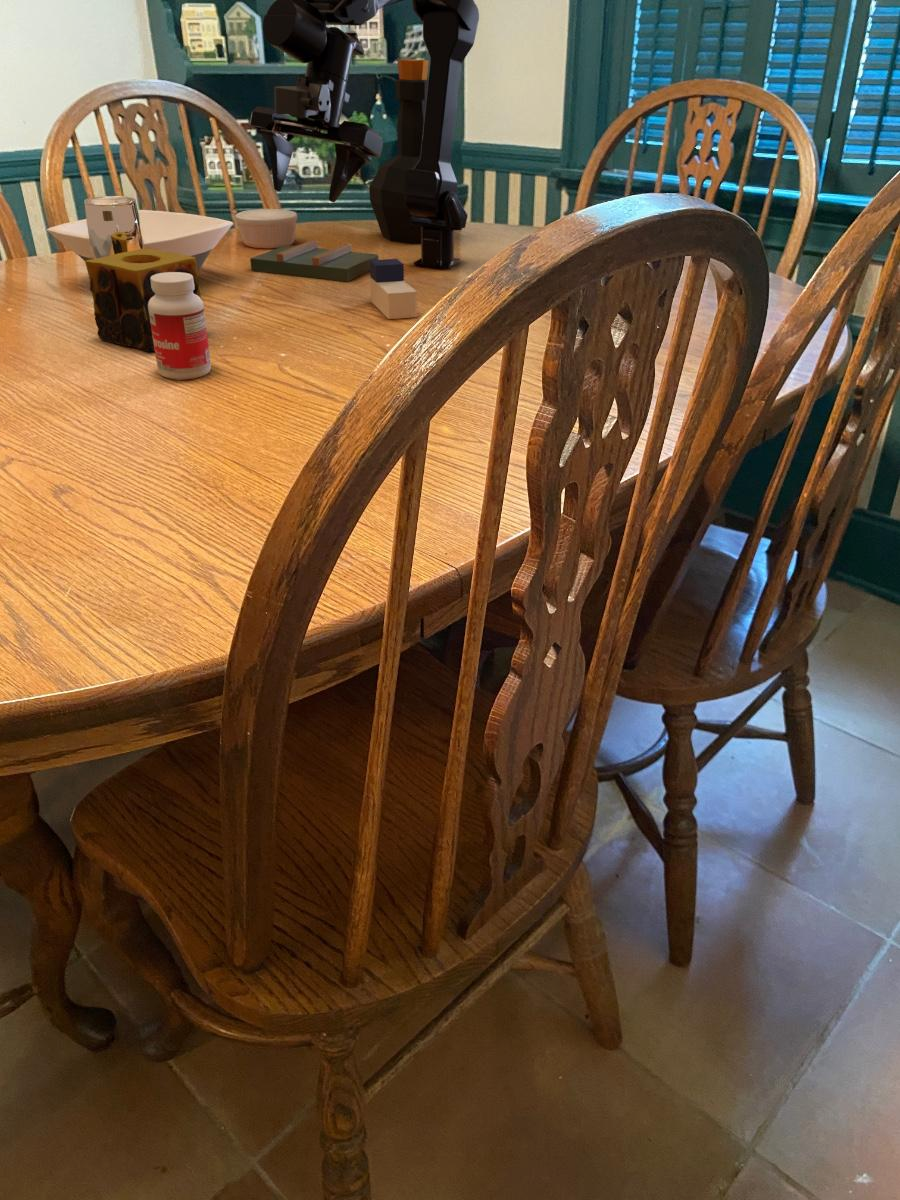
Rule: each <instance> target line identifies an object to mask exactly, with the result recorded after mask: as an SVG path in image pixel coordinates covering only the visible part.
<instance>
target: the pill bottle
mask: <svg viewBox="0 0 900 1200" xmlns="http://www.w3.org/2000/svg"><path fill="white" fill-rule="evenodd" d="M150 280H151V288H152V290H153V292H155V295H154V296H153V297H152V298H151V299H150V300H149V303H148V310H149V317H150V323H151V330H152V337H153V343H154V349H155V351H154V354H155V355H154V356H155V361H156V366H157V371H158V373H159V374H160V375H161V376H162V377H164V378H167V379H170V380H177V381H179V380H181V381H183V380H184V381H185V380H194V379H197V378H200V377H204V376H206V375H207V374H209V373H210V372H211V369H212V363H211V362H212V361H211V354H210V348H209V340H208V339H209V338H208V331H207V321H206V315H205V305H204V302H203V299H202V297H201V298H200V297H199V296H197V295H196V294H194V293H193V290H194V289H195V288H194V287H195V285H194V280H193V276H192V275H191V274H188V273H181V272H166V273H159V274H155V275H153V276H151V278H150Z"/></svg>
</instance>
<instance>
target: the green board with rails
mask: <svg viewBox="0 0 900 1200" xmlns="http://www.w3.org/2000/svg"><path fill="white" fill-rule="evenodd" d="M318 246H319V245H318V240H313V239H312V240H308V241H306V242H304V243H301V244H298V245H293V244H291V245H285V246H282V247H279V248H273V249H272V250H269V251H267V252H264V253H261V254H258V255H255V256H253V257H250V258H249V260H250V271H252V272H258V273H259V272H260V273H268V274H278V275H284V276H293V277H303V278H313V279H320V280H329V281H338V282H347V283H348V282H350V281H352V280H354V279H356V278H358V277H360V276H362V275H364V274H367V273H368V272H370V260H380V259H379V254H377V253H366V252H357V251H353V250H352V244H351V243H344V244H342V245H338V246H337V247H334V248H330V249H329V248H320V247H319V248H318Z"/></svg>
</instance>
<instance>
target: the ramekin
mask: <svg viewBox="0 0 900 1200" xmlns="http://www.w3.org/2000/svg"><path fill="white" fill-rule="evenodd" d="M234 218H235V222H236V223H237V226H238V230H239V234H240V237H241V240H242V243H243V244H244V245H245V246H247V247H249V248H253V249H277V248H279V247H282V246H285V245H293V243H294V242H295V240H296V231H297V230H296V229H297V221H298V213H297V212H296V211H293V210H288V209H282V208H258V209H257V208H256V209H248V210H243V211H239V212H238V213H236V214H235V216H234Z"/></svg>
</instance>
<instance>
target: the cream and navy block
mask: <svg viewBox="0 0 900 1200" xmlns="http://www.w3.org/2000/svg"><path fill="white" fill-rule="evenodd" d="M369 277H370V278H369V280H370V281H369V282H370V285H369V286H370V302H371V303H372V304H373V306H374V307H376V308H377V309H378V311H379V312H381V313H382V314H383V315H384V316H385V317H386V318H387V319H388V320H397V319H398V320H399V319H410V318H417V317H418V292H417V290H416V289H414V288H413V287H412V286H410V285H409V284H408V283H407V282H406V281H405V264H404V263H403V262H402V261H401V260H399V259H398V258H386V259H384V258H383V259H379V260H370V271H369Z"/></svg>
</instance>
